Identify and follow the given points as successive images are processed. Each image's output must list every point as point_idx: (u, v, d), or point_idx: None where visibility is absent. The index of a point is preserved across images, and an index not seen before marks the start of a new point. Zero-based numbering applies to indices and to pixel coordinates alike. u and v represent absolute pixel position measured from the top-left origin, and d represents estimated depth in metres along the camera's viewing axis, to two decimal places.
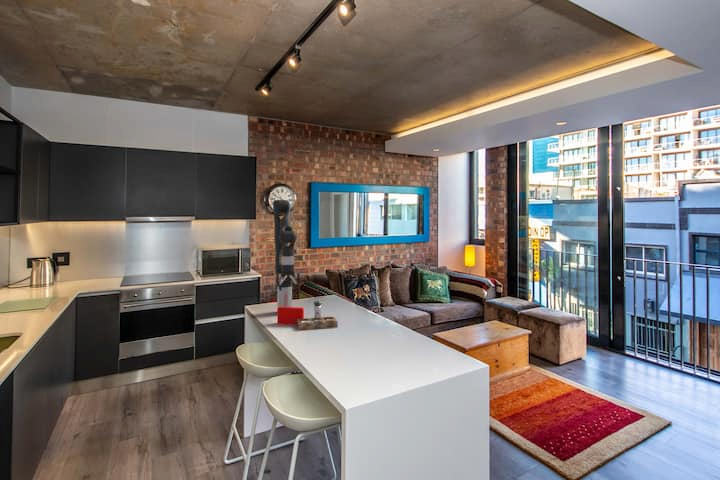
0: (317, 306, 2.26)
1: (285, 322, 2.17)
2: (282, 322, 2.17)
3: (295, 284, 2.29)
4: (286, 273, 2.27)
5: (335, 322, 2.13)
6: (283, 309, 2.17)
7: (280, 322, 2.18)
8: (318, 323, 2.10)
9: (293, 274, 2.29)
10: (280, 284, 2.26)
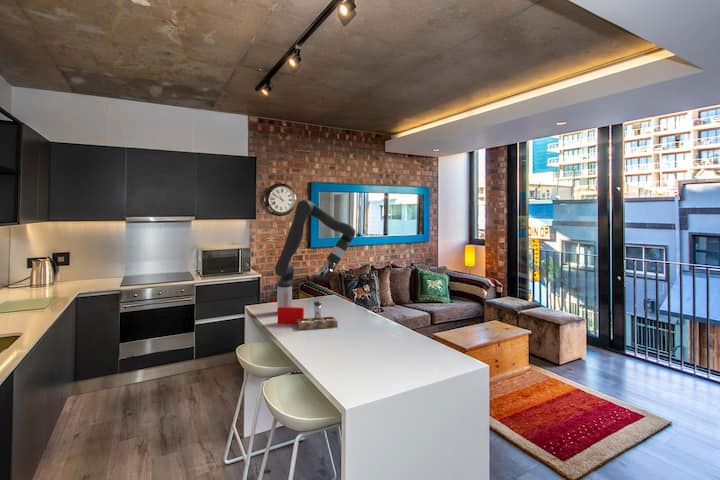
0: (317, 306, 2.26)
1: (285, 322, 2.17)
2: (282, 322, 2.18)
3: (323, 274, 2.26)
4: None
5: (335, 322, 2.13)
6: (283, 309, 2.17)
7: (280, 322, 2.18)
8: (318, 323, 2.10)
9: None
10: (329, 274, 2.18)
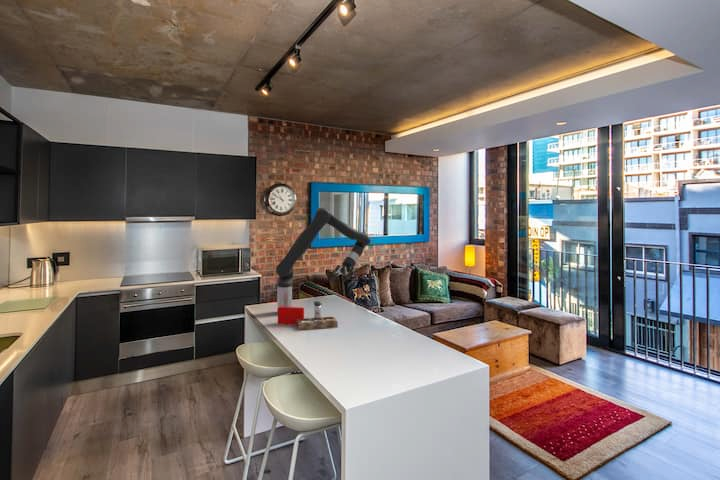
0: (317, 306, 2.26)
1: (285, 322, 2.17)
2: (282, 322, 2.18)
3: (336, 276, 2.32)
4: None
5: (335, 322, 2.13)
6: (283, 309, 2.17)
7: (280, 322, 2.18)
8: (318, 323, 2.10)
9: None
10: (347, 277, 2.27)
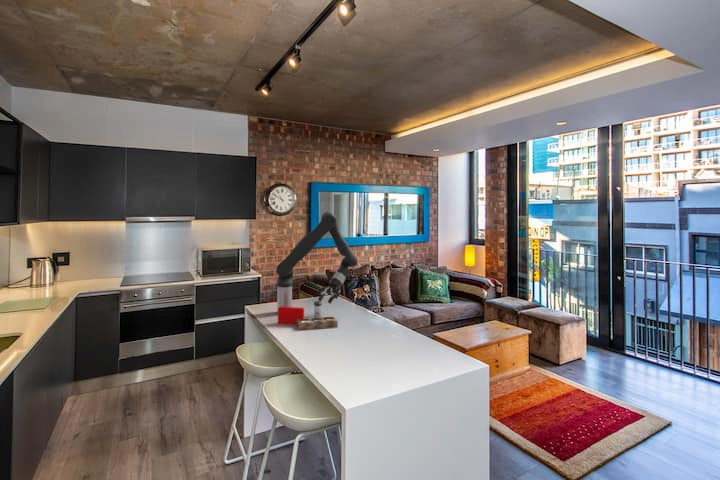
0: (317, 306, 2.26)
1: (286, 322, 2.17)
2: (282, 322, 2.18)
3: (322, 296, 2.37)
4: None
5: (335, 322, 2.13)
6: (283, 309, 2.17)
7: (281, 322, 2.18)
8: (318, 323, 2.10)
9: None
10: (333, 298, 2.31)
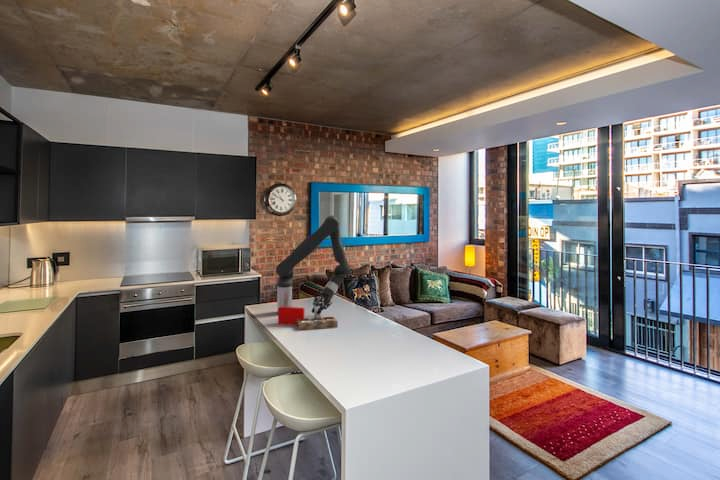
0: (317, 306, 2.26)
1: (286, 322, 2.17)
2: (283, 322, 2.18)
3: None
4: None
5: (335, 322, 2.13)
6: (284, 309, 2.17)
7: (281, 322, 2.18)
8: (318, 323, 2.10)
9: None
10: (322, 309, 2.27)
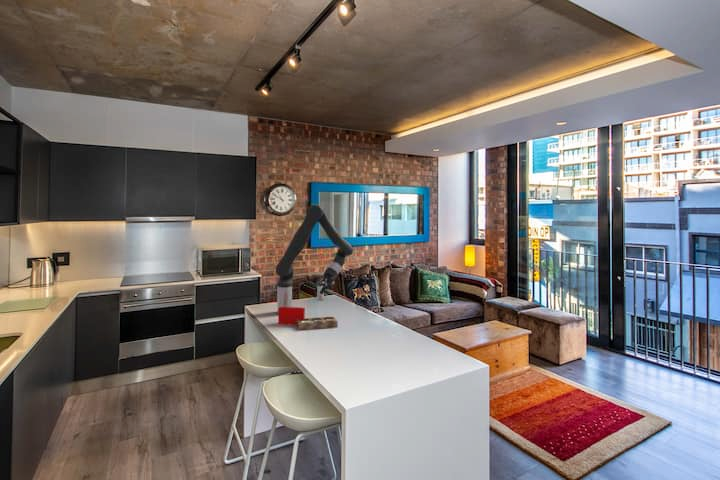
0: (320, 286, 2.23)
1: (286, 322, 2.17)
2: (283, 322, 2.18)
3: None
4: None
5: (335, 322, 2.13)
6: (284, 309, 2.17)
7: (281, 322, 2.18)
8: (318, 323, 2.10)
9: None
10: (325, 289, 2.25)
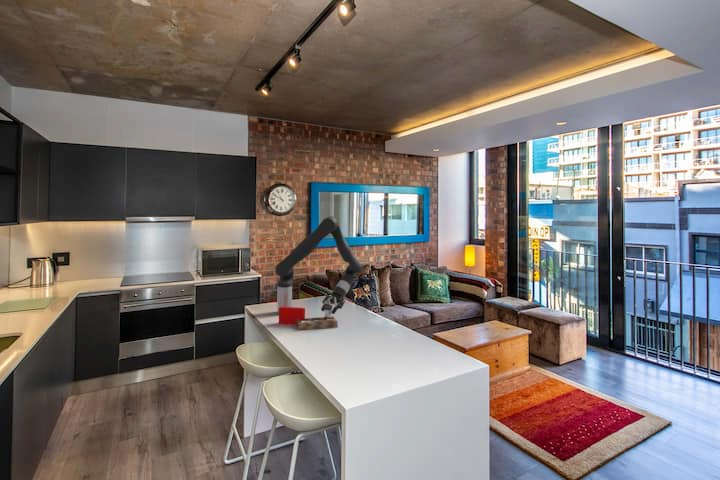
0: (328, 310, 2.17)
1: (286, 322, 2.17)
2: (283, 322, 2.17)
3: None
4: None
5: (335, 322, 2.13)
6: (284, 309, 2.17)
7: (281, 322, 2.18)
8: (318, 323, 2.10)
9: None
10: None
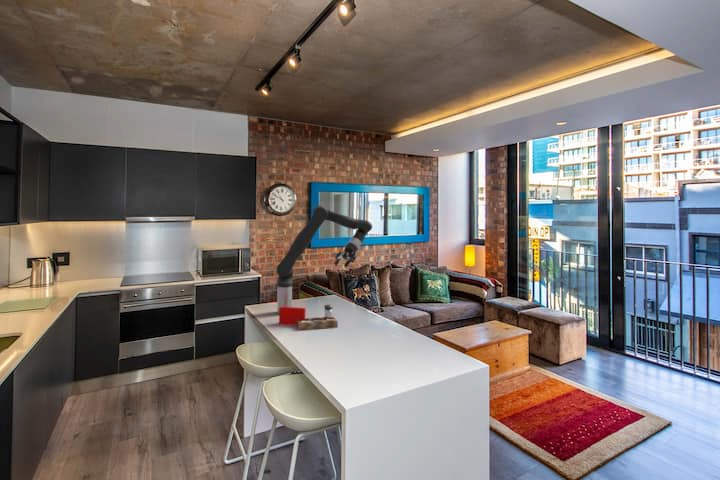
0: (328, 310, 2.17)
1: (287, 322, 2.17)
2: (284, 322, 2.17)
3: (338, 261, 2.36)
4: None
5: (335, 322, 2.13)
6: (285, 309, 2.17)
7: (282, 322, 2.18)
8: (318, 323, 2.10)
9: None
10: (349, 262, 2.30)
